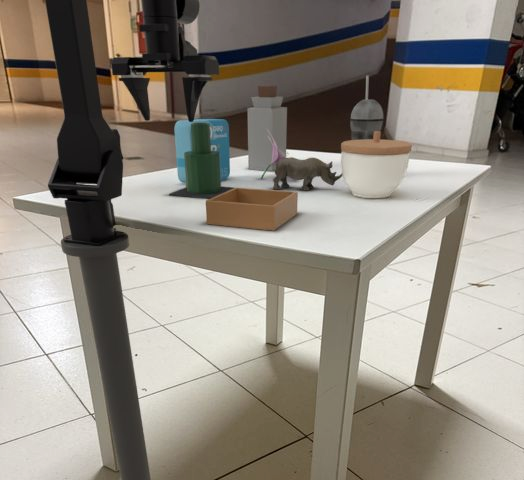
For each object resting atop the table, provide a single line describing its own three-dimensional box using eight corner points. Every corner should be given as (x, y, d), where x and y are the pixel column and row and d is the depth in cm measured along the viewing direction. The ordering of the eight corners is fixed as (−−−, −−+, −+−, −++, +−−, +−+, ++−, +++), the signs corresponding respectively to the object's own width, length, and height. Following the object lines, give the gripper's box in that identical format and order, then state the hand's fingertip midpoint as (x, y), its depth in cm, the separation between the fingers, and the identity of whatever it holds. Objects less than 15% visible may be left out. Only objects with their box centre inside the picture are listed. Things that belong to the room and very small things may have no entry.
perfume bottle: (271, 171, 119) (272, 86, 110) (248, 168, 122) (247, 86, 113) (285, 167, 124) (287, 85, 115) (263, 165, 127) (262, 85, 118)
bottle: (211, 195, 93) (208, 125, 87) (181, 192, 95) (175, 124, 89) (226, 188, 98) (224, 122, 93) (197, 186, 101) (192, 121, 95)
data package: (193, 185, 101) (189, 121, 96) (177, 183, 103) (173, 120, 98) (230, 178, 110) (229, 119, 104) (215, 176, 112) (212, 118, 107)
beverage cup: (384, 174, 114) (394, 75, 104) (366, 179, 109) (376, 75, 99) (357, 171, 118) (365, 75, 108) (339, 175, 113) (346, 75, 104)
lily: (280, 191, 103) (303, 147, 100) (234, 164, 105) (256, 120, 102) (296, 198, 114) (317, 159, 111) (254, 173, 116) (274, 134, 113)
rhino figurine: (341, 192, 97) (343, 159, 94) (271, 190, 99) (272, 158, 96) (341, 188, 100) (344, 156, 97) (274, 186, 102) (274, 155, 99)
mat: (216, 199, 91) (215, 197, 91) (168, 195, 94) (168, 193, 94) (238, 189, 99) (237, 187, 99) (193, 186, 103) (193, 184, 103)
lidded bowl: (363, 185, 102) (368, 127, 97) (417, 194, 94) (427, 131, 89) (324, 194, 94) (327, 131, 89) (380, 205, 87) (387, 136, 81)
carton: (274, 230, 72) (274, 206, 71) (206, 224, 76) (205, 200, 74) (297, 213, 81) (297, 191, 79) (236, 208, 85) (235, 187, 83)
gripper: (231, 21, 86) (234, 119, 94) (141, 25, 92) (150, 117, 100) (200, 13, 77) (206, 123, 84) (102, 19, 83) (116, 121, 91)
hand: (168, 121), depth 90 cm, fingers open, 9 cm apart
